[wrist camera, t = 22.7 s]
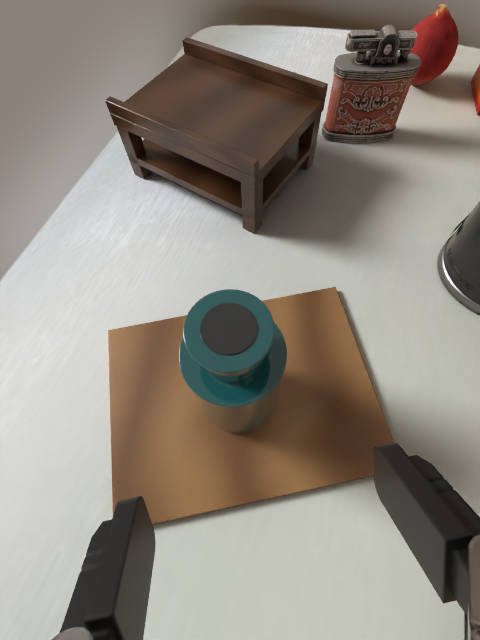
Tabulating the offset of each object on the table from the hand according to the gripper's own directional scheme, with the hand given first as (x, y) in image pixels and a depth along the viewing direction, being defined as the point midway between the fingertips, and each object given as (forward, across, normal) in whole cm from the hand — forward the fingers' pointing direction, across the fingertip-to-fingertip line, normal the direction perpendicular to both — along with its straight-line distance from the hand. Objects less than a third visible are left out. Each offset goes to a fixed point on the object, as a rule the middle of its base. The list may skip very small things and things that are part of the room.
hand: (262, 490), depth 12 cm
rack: (+32, -3, -13) cm, 35 cm away
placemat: (+14, 0, +5) cm, 15 cm away
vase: (+14, 0, +4) cm, 15 cm away
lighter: (+34, -19, -14) cm, 41 cm away
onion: (+39, -29, -19) cm, 52 cm away
